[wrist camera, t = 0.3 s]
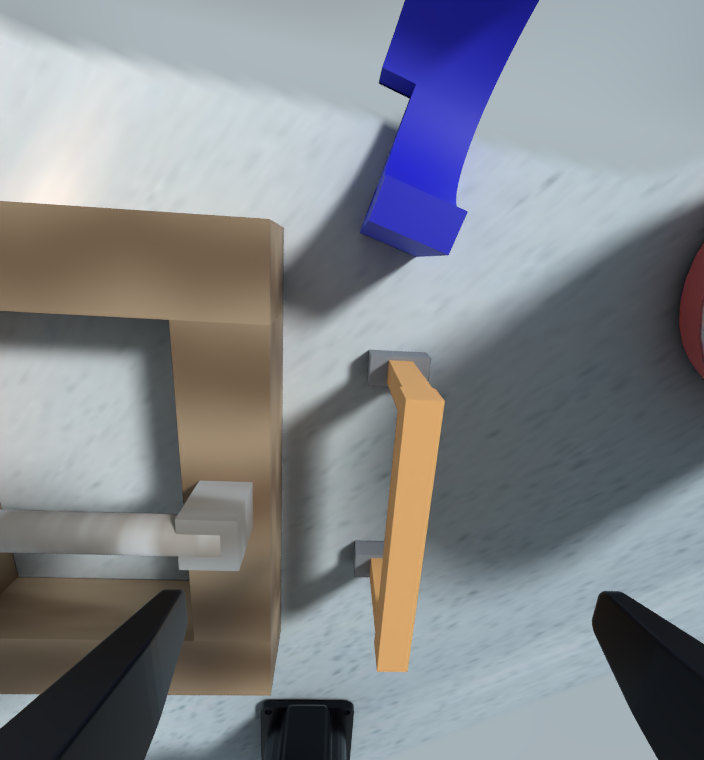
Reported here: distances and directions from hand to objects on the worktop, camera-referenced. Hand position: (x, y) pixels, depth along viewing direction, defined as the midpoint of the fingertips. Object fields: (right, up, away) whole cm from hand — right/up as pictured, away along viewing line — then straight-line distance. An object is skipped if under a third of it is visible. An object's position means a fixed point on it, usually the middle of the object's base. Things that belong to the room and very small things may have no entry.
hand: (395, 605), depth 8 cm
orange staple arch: (+1, 0, +14) cm, 14 cm away
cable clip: (+2, +17, +9) cm, 20 cm away
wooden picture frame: (-15, +1, +13) cm, 20 cm away
